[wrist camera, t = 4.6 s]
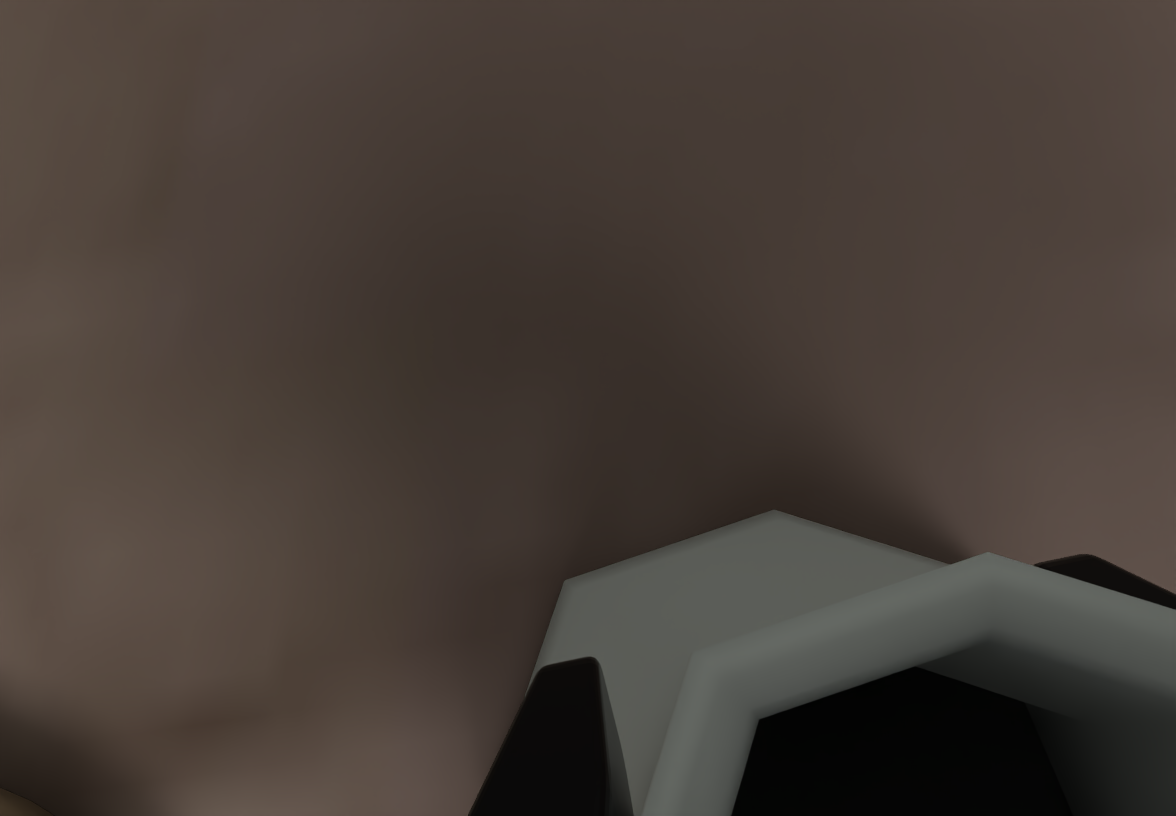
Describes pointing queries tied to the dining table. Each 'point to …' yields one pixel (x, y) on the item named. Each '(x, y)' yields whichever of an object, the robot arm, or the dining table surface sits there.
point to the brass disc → (19, 806)
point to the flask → (872, 680)
